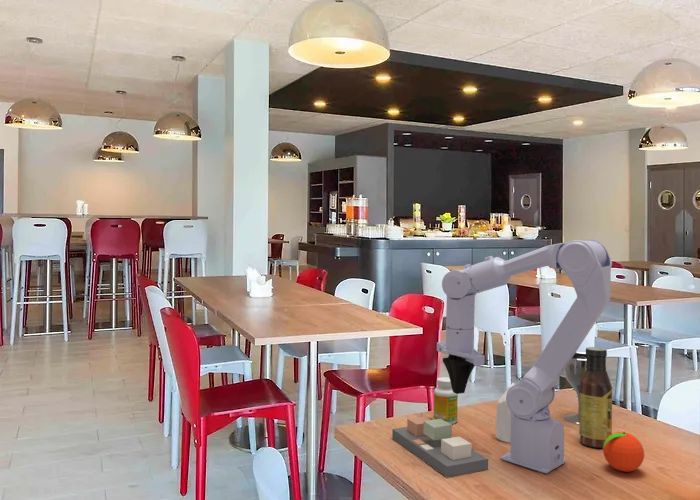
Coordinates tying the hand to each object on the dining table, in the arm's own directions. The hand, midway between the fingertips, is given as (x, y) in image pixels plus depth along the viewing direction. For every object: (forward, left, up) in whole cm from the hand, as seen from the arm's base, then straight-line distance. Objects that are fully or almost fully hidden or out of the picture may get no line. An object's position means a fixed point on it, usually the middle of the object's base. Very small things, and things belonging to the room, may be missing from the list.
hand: (458, 392), depth 122 cm
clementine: (-29, -10, -11) cm, 33 cm away
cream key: (-7, +10, -8) cm, 15 cm away
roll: (-6, -10, -11) cm, 16 cm away
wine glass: (-11, -33, -11) cm, 36 cm away
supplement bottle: (+10, -9, -11) cm, 17 cm away
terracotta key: (+5, +6, -8) cm, 11 cm away
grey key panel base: (-1, +8, -10) cm, 13 cm away
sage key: (-1, +8, -7) cm, 11 cm away
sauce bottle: (-20, -20, -11) cm, 30 cm away
